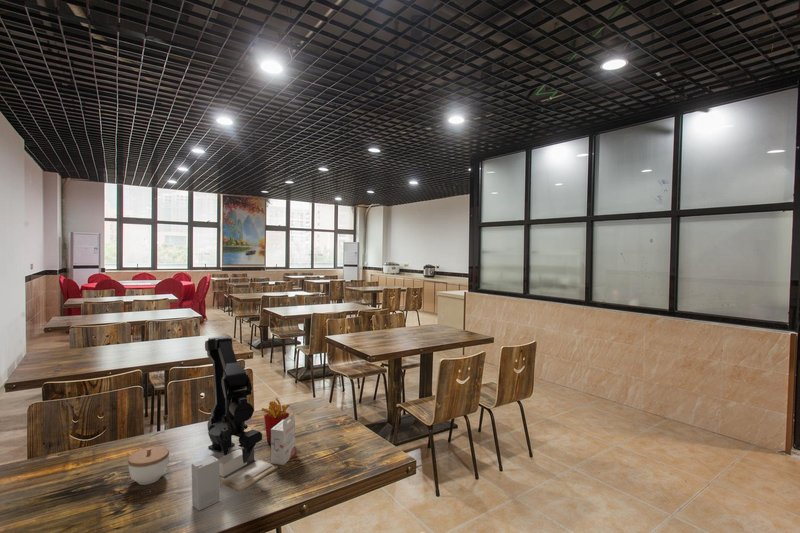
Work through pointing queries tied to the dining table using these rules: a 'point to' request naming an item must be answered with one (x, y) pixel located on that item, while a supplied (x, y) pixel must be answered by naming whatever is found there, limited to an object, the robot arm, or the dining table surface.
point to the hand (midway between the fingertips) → (235, 458)
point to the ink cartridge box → (283, 441)
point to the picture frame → (247, 474)
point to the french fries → (274, 416)
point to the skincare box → (205, 482)
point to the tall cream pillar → (233, 462)
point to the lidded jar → (148, 464)
